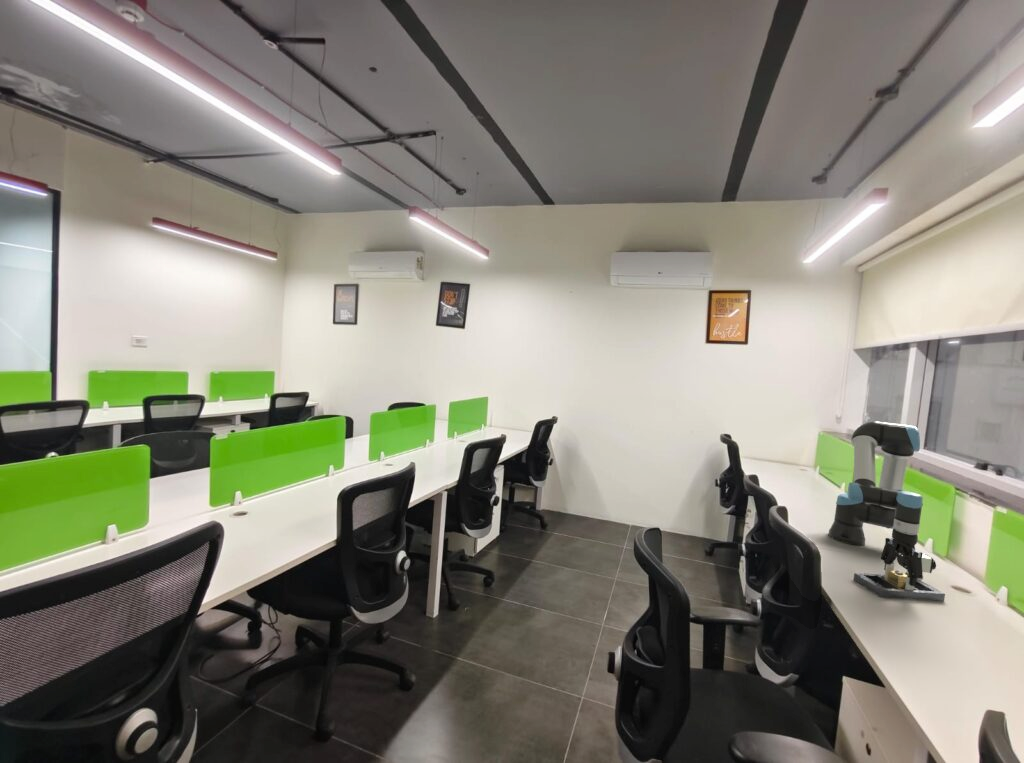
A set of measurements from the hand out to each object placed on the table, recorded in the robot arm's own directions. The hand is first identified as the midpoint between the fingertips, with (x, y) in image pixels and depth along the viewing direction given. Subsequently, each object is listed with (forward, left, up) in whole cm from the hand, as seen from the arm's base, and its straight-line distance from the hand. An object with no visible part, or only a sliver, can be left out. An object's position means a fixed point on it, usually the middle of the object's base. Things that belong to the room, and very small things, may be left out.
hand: (898, 586), depth 174 cm
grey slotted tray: (0, 0, -2) cm, 2 cm away
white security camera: (-10, +16, -2) cm, 20 cm away
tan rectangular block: (0, 0, -2) cm, 2 cm away
